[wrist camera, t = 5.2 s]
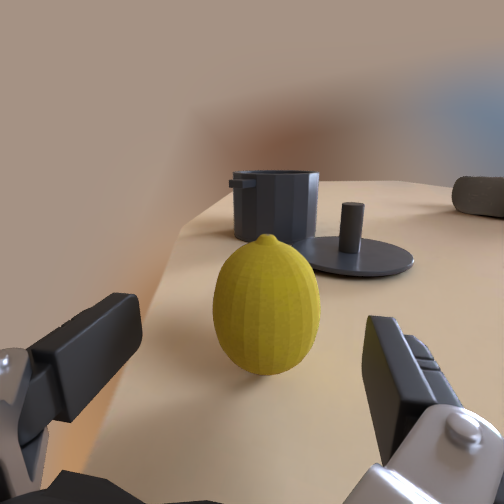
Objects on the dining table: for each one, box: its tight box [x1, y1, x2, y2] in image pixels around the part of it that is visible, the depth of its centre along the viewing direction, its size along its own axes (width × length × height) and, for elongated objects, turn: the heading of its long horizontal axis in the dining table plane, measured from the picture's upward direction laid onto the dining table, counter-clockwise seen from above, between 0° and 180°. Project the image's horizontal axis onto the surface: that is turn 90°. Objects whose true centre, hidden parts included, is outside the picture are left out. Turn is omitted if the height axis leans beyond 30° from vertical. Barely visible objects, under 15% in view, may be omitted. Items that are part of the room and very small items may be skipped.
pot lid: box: [291, 202, 414, 276], centre depth 35 cm, size 14×14×7 cm
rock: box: [452, 176, 504, 217], centre depth 63 cm, size 18×11×8 cm, turn 14°
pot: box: [229, 170, 319, 244], centre depth 46 cm, size 13×18×10 cm
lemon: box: [213, 234, 320, 375], centre depth 16 cm, size 6×6×8 cm
